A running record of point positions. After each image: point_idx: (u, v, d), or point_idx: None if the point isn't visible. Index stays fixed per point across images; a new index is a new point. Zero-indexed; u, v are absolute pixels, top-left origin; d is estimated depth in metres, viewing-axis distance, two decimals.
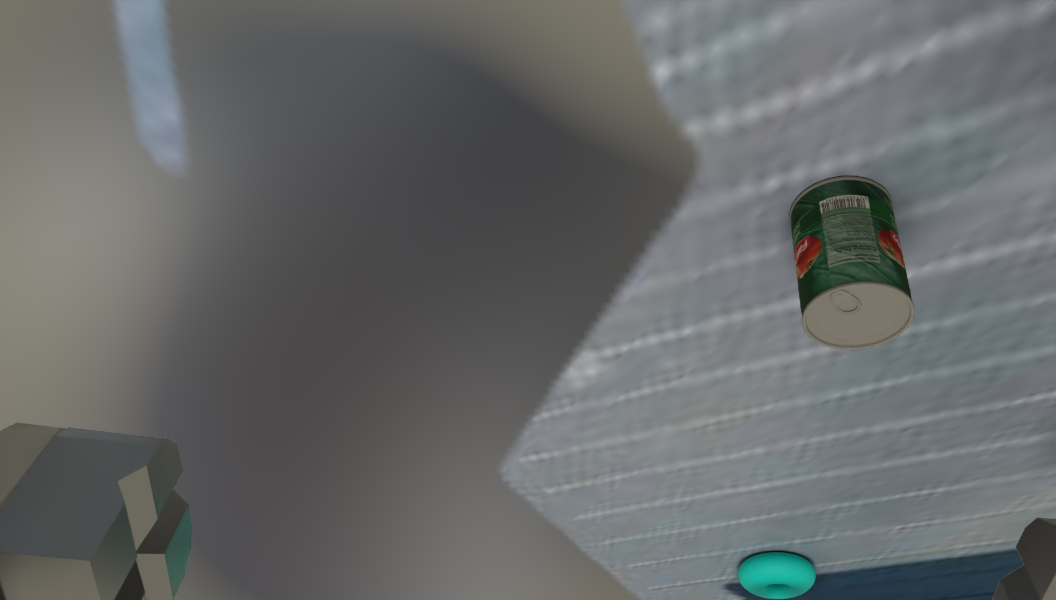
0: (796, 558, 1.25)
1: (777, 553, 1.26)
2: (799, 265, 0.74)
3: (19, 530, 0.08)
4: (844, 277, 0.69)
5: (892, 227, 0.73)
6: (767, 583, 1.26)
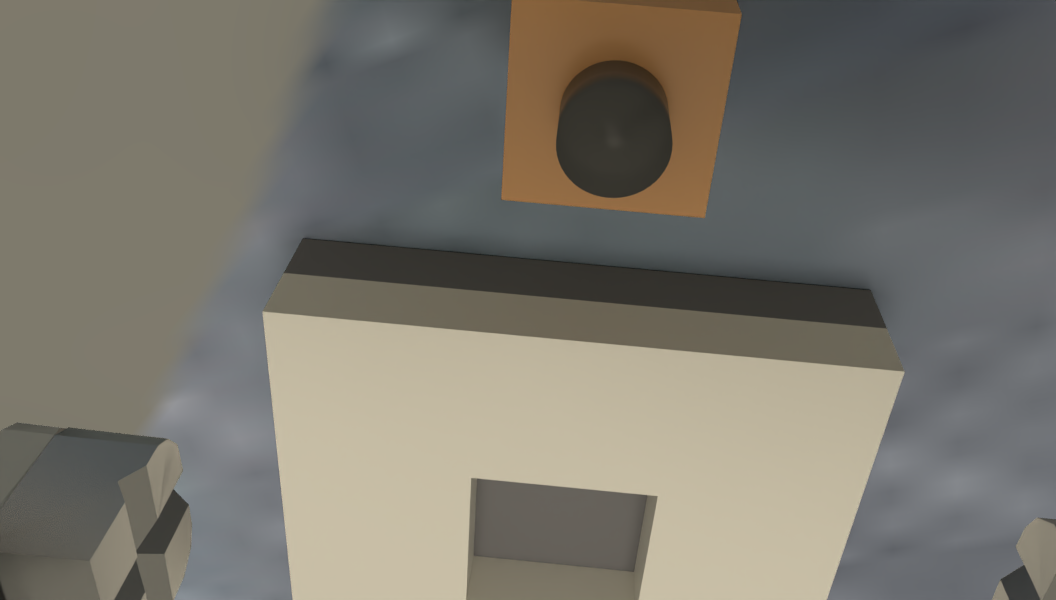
0: None
1: None
2: None
3: (19, 530, 0.08)
4: None
5: None
6: None
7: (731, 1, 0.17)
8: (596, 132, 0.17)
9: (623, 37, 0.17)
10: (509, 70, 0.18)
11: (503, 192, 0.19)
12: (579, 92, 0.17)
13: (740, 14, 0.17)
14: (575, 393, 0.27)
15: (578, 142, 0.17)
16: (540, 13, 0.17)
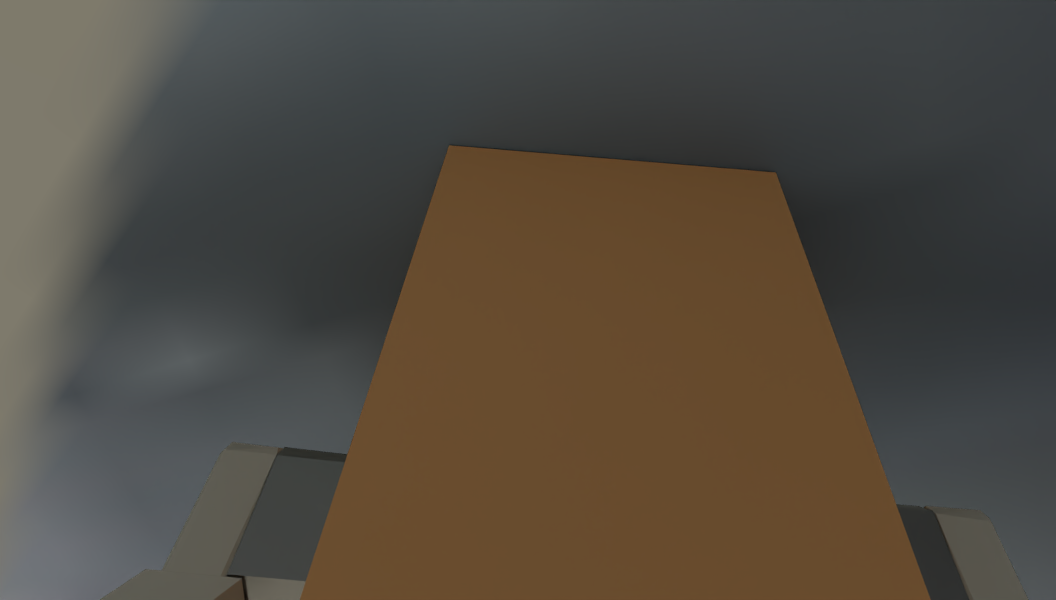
0: None
1: None
2: None
3: (271, 554, 0.08)
4: None
5: None
6: None
7: None
8: None
9: None
10: None
11: None
12: None
13: None
14: None
15: None
16: None
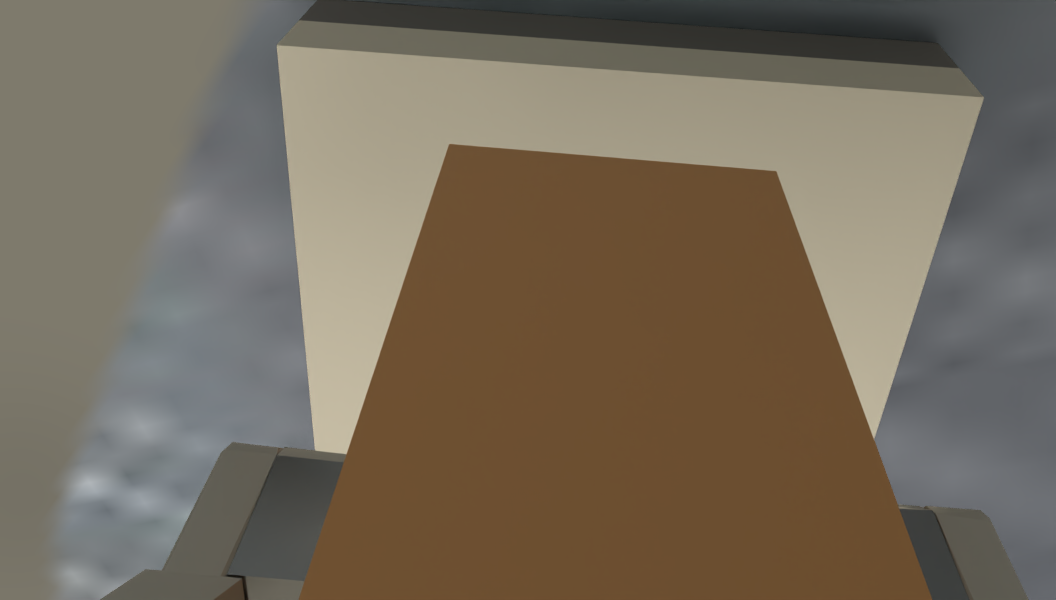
0: None
1: None
2: None
3: (270, 554, 0.08)
4: None
5: None
6: None
7: None
8: None
9: None
10: None
11: None
12: None
13: None
14: (618, 137, 0.24)
15: None
16: None
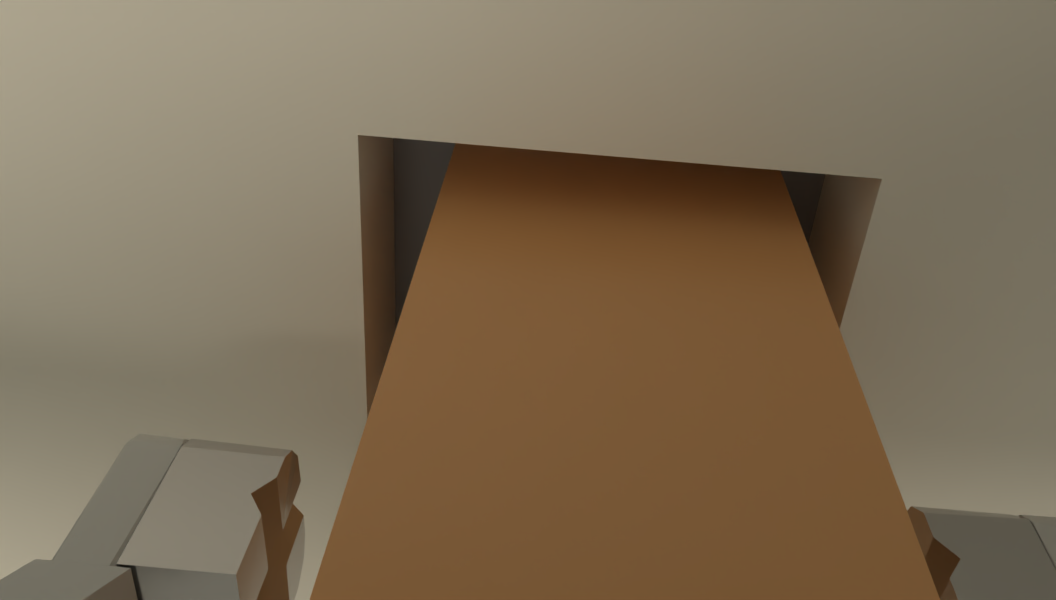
0: None
1: None
2: None
3: (162, 543, 0.08)
4: None
5: None
6: None
7: None
8: None
9: None
10: None
11: None
12: None
13: None
14: None
15: None
16: None
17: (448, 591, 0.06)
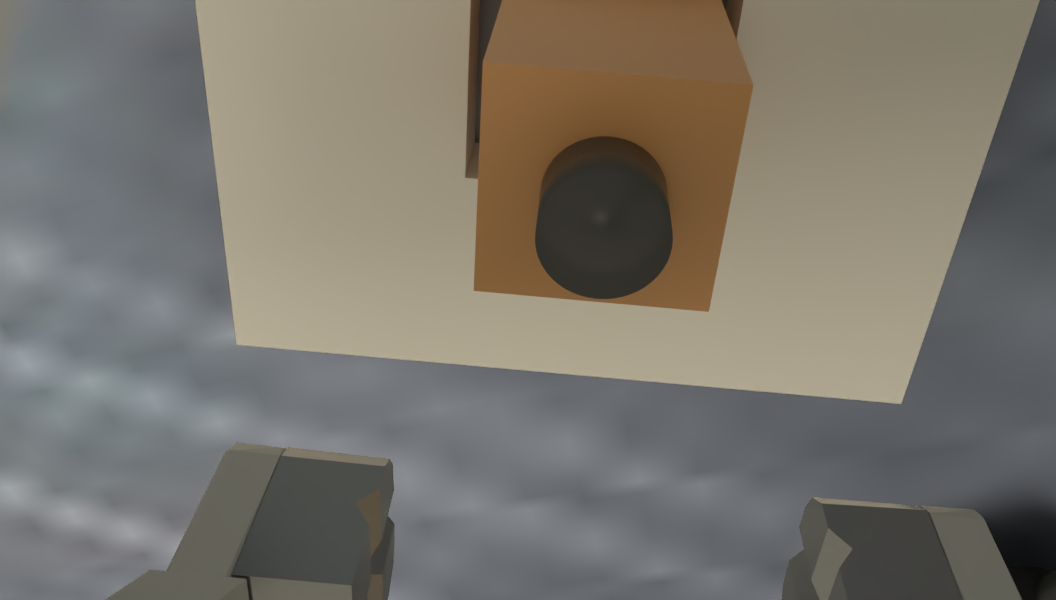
0: None
1: None
2: None
3: (275, 552, 0.08)
4: None
5: None
6: None
7: (740, 68, 0.15)
8: (582, 226, 0.14)
9: (613, 112, 0.15)
10: (481, 147, 0.15)
11: (475, 283, 0.16)
12: (562, 178, 0.14)
13: (751, 85, 0.14)
14: None
15: (561, 237, 0.14)
16: (516, 83, 0.14)
17: (541, 51, 0.15)
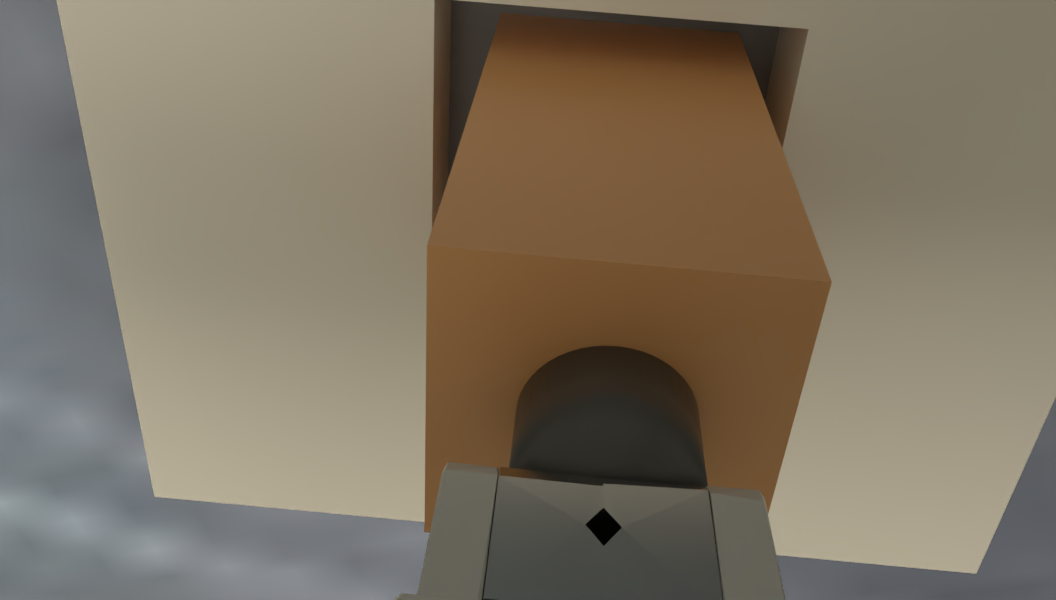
0: None
1: None
2: None
3: (519, 576, 0.08)
4: None
5: None
6: None
7: (808, 245, 0.10)
8: None
9: (622, 313, 0.10)
10: (428, 356, 0.10)
11: (427, 523, 0.12)
12: (545, 425, 0.09)
13: (828, 282, 0.10)
14: None
15: None
16: (477, 274, 0.10)
17: (516, 219, 0.10)
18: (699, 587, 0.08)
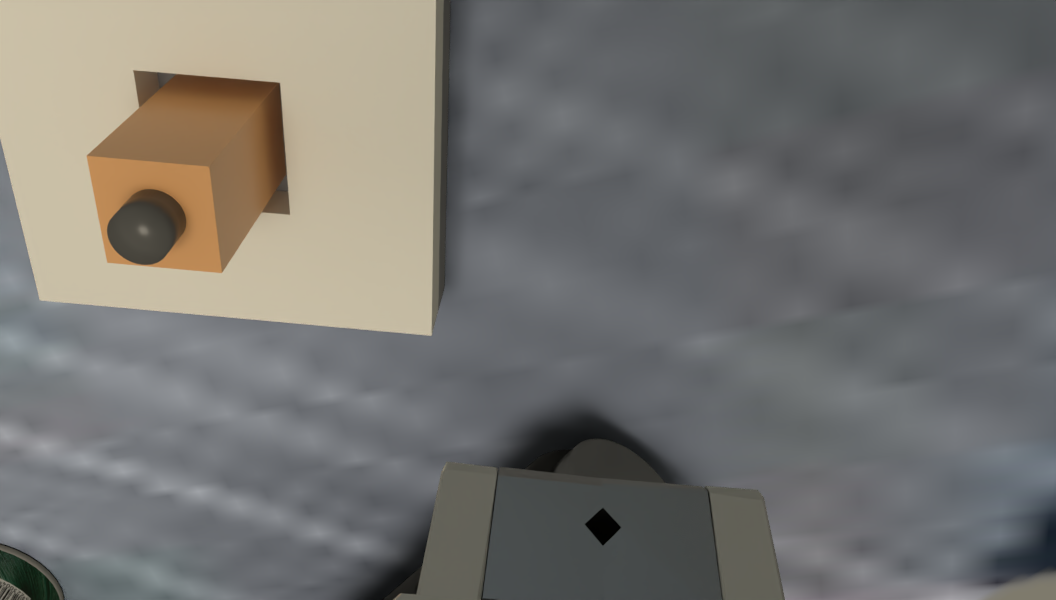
0: None
1: None
2: None
3: (519, 576, 0.08)
4: None
5: None
6: None
7: (213, 157, 0.32)
8: (127, 231, 0.31)
9: (150, 178, 0.32)
10: (94, 193, 0.32)
11: (107, 258, 0.33)
12: (119, 209, 0.31)
13: (208, 166, 0.31)
14: None
15: (119, 236, 0.31)
16: (103, 165, 0.31)
17: (121, 149, 0.32)
18: (698, 587, 0.08)
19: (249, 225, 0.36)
